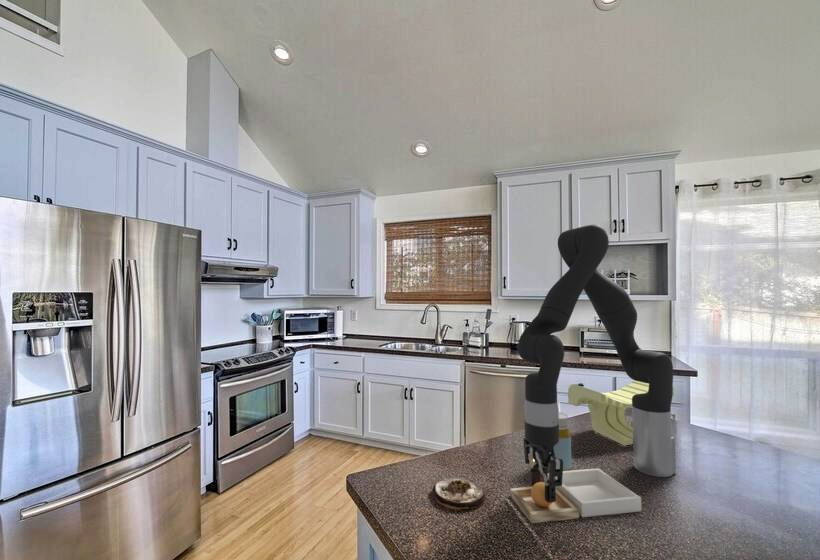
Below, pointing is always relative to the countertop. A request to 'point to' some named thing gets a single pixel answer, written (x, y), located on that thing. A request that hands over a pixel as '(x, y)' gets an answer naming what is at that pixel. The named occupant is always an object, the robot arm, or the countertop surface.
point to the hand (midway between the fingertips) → (542, 493)
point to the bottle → (564, 442)
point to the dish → (597, 493)
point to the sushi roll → (459, 494)
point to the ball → (539, 494)
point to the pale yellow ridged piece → (609, 409)
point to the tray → (536, 513)
